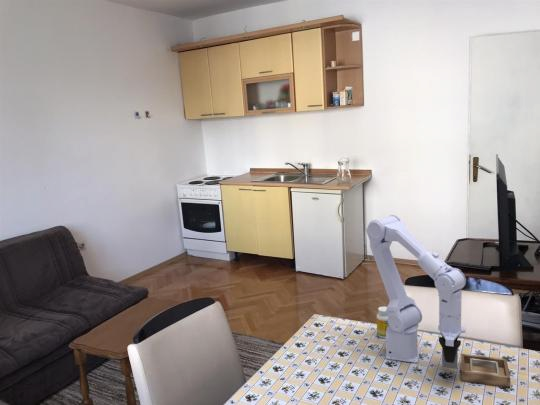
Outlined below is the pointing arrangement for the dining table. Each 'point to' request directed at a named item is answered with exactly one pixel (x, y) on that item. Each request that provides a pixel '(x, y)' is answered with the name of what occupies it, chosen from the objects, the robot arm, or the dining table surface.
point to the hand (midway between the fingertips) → (449, 357)
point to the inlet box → (485, 370)
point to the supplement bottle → (382, 322)
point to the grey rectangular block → (448, 364)
